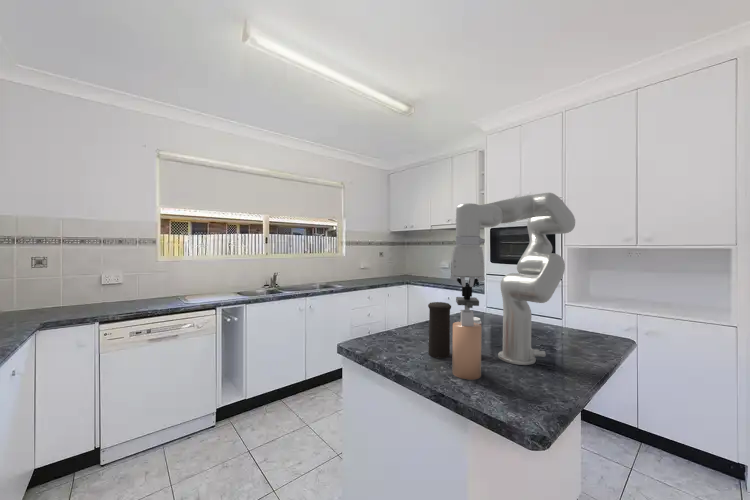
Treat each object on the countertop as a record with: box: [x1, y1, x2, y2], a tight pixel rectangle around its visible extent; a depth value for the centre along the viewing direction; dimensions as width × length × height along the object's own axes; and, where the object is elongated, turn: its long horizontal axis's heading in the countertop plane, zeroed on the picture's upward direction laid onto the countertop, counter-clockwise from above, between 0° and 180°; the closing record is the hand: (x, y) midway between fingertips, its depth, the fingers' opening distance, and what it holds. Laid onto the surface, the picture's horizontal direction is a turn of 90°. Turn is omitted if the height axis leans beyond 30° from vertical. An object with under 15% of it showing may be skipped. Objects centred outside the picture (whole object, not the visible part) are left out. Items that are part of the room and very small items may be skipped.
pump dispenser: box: [451, 309, 483, 381], centre depth 103 cm, size 9×9×20 cm
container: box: [427, 301, 452, 359], centre depth 121 cm, size 9×9×20 cm
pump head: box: [455, 296, 480, 312], centre depth 101 cm, size 6×10×6 cm, turn 171°
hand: (466, 298), depth 103 cm, fingers closed
